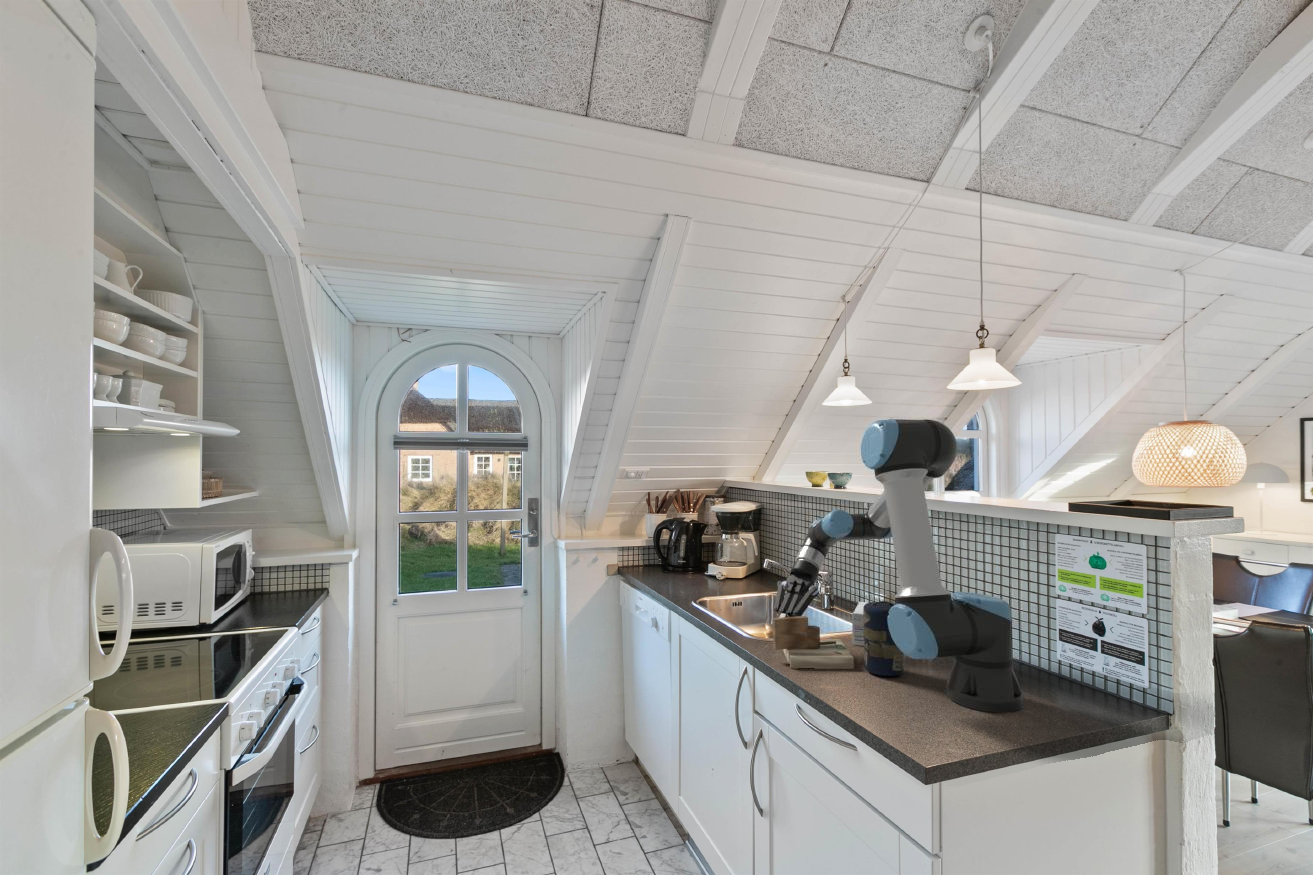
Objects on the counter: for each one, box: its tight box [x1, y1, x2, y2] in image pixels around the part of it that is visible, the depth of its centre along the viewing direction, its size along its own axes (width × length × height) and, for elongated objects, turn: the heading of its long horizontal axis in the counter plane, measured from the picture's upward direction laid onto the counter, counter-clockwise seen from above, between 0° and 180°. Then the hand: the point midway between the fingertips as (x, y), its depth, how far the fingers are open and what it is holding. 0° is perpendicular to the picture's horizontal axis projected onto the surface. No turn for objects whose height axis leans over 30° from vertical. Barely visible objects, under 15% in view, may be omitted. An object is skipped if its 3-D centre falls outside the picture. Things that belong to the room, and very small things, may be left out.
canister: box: [863, 600, 905, 677], centre depth 157 cm, size 10×10×18 cm
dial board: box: [782, 638, 855, 670], centre depth 168 cm, size 16×16×3 cm
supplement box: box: [851, 601, 870, 647], centre depth 185 cm, size 17×13×9 cm
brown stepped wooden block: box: [772, 615, 836, 651], centre depth 168 cm, size 18×4×8 cm, turn 101°
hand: (776, 636), depth 168 cm, fingers closed
